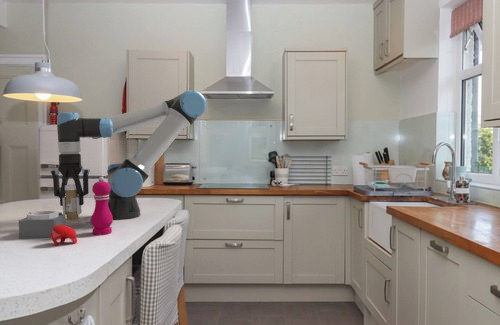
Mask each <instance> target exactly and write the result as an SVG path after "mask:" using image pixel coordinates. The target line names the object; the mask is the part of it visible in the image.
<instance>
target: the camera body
mask: <svg viewBox="0 0 500 325" xmlns="http://www.w3.org/2000/svg"><path fill="white" fill-rule="evenodd" d="M57 225H66V215H65V214H63V211H62V212H59V211H57V210H38V211H32V212H31V211H30V212H28V213H26V217H24V218H21V219H19V220H18V239H36V238H37V239H38V238H39V239H40V238H42V239H43V238H51V232H52V230H53V227H55V226H57Z"/></svg>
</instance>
